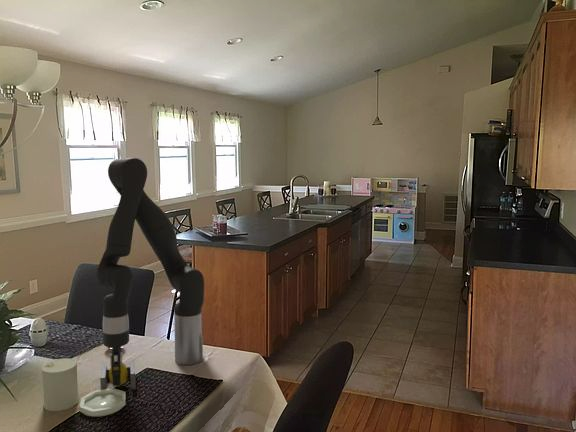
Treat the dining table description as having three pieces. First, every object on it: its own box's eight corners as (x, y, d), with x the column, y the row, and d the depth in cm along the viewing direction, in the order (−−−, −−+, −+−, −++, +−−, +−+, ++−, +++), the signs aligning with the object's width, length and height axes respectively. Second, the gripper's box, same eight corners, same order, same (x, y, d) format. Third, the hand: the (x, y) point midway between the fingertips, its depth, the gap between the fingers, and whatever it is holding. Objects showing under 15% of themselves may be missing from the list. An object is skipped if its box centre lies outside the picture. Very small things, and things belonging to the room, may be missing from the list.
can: (51, 395, 140) (49, 356, 138) (83, 394, 140) (81, 356, 139) (37, 412, 131) (35, 371, 129) (72, 411, 131) (70, 370, 130)
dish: (125, 391, 142) (125, 386, 142) (125, 412, 131) (125, 406, 131) (82, 397, 138) (82, 392, 138) (78, 419, 127) (78, 413, 127)
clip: (135, 373, 154) (134, 359, 153) (135, 388, 144) (135, 373, 144) (102, 377, 151) (101, 363, 150) (100, 393, 141) (100, 378, 140)
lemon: (121, 392, 142) (121, 367, 141) (105, 390, 143) (104, 365, 142) (131, 383, 147) (130, 359, 146) (115, 381, 149) (114, 357, 148)
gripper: (128, 335, 137) (129, 388, 139) (129, 319, 151) (129, 367, 153) (101, 338, 135) (102, 391, 137) (103, 321, 148) (105, 370, 150)
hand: (117, 378), depth 145 cm, fingers open, 8 cm apart
